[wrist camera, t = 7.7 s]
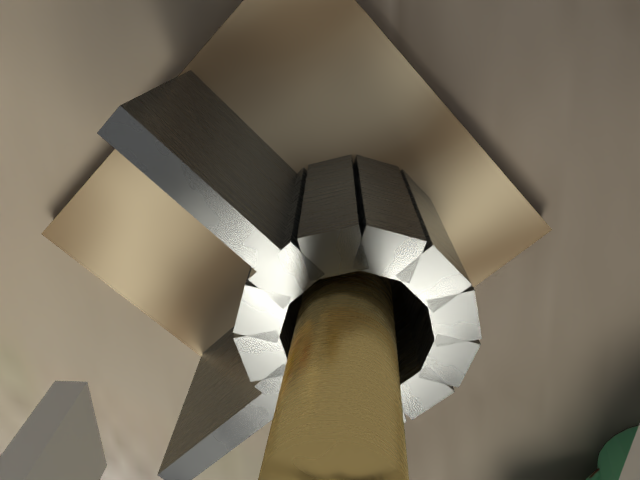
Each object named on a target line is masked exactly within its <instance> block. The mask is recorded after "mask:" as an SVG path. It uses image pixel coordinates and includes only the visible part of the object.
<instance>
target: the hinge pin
mask: <svg viewBox="0 0 640 480" xmlns="http://www.w3.org/2000/svg"><path fill="white" fill-rule="evenodd" d="M258 480H409V476H408V465H407V454H406V443H405V432H404V421H403V410H402V399H401V388H400V377H399V366H398V355H397V344H396V333H395V322H394V311H393V300H392V289H391V278H387V277H383V276H379V275H376V274H372V273H368V272H364V271H355V272H351V273H346V274H341V275H336V276H332V277H327V278H322V279H318V280H317V281H316V282H315V283H314V284H312V285H311V286H310V287H309V288H308V289H306V290H305V291H304V292H303V296H302V300H301V305H300V309H299V313H298V317H297V321H296V325H295V329H294V333H293V338H292V342H291V346H290V350H289V354H288V358H287V362H286V367H285V371H284V375H283V379H282V383H281V387H280V391H279V396H278V400H277V404H276V408H275V412H274V416H273V420H272V425H271V429H270V433H269V437H268V441H267V445H266V449H265V453H264V458H263V462H262V466H261V470H260V474H259V478H258Z"/></svg>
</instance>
